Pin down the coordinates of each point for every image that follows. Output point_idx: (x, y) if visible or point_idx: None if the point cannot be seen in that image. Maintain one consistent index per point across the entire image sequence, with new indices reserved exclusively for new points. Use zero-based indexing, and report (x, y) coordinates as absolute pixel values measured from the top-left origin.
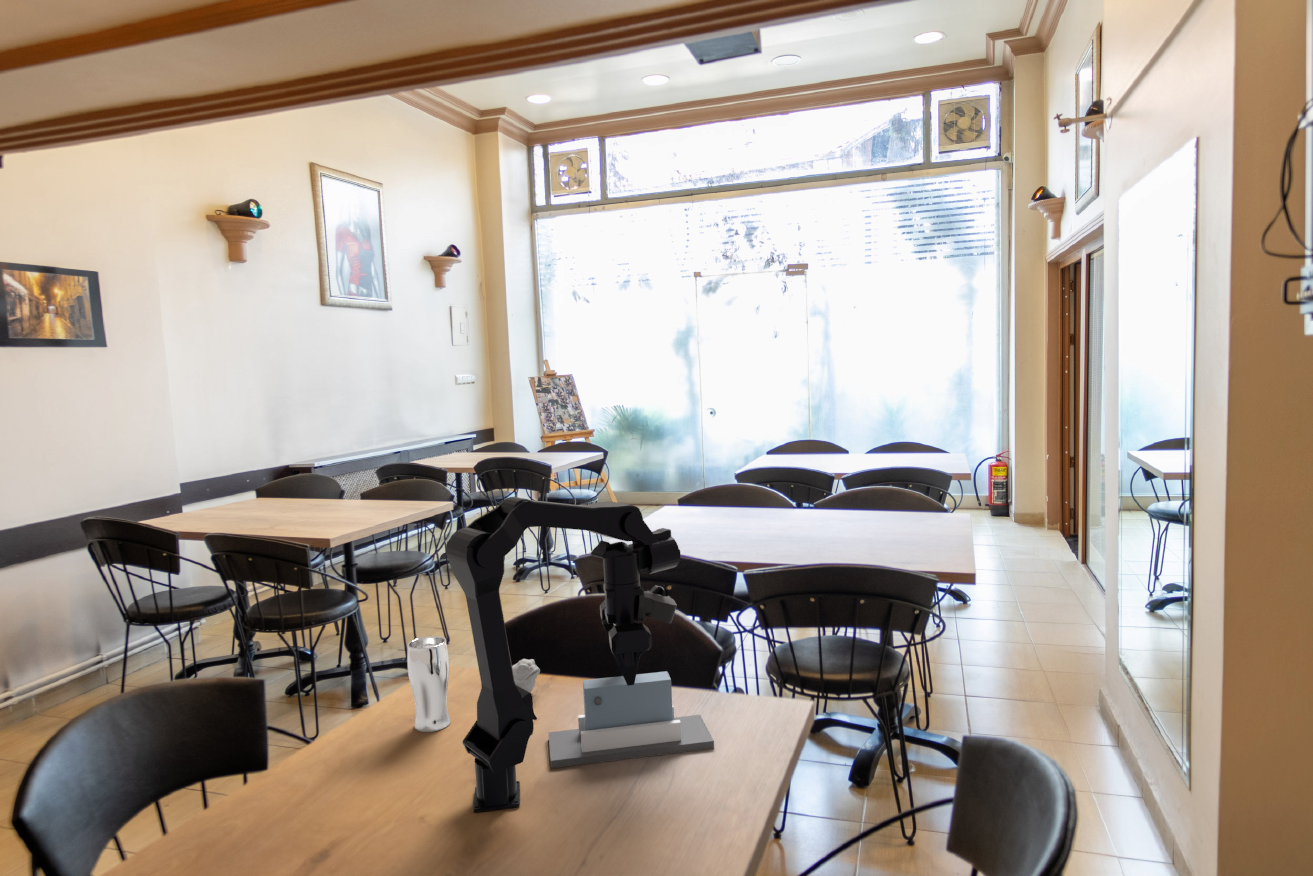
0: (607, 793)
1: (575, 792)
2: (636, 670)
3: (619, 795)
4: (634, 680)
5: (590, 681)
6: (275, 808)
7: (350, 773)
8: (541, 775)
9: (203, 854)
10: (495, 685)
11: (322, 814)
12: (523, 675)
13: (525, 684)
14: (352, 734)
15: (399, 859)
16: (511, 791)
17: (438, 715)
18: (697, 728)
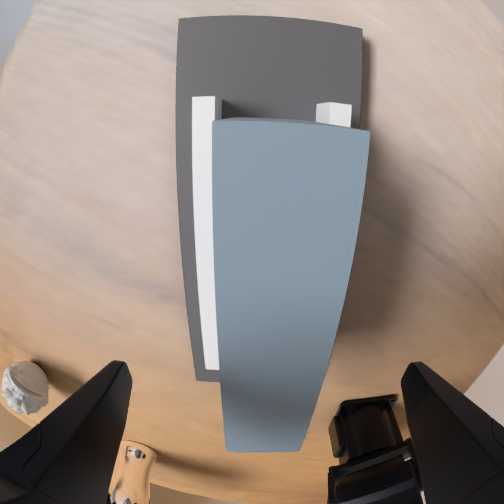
0: (433, 298)
1: (403, 340)
2: (474, 406)
3: (447, 280)
4: (435, 374)
5: (244, 442)
6: (282, 497)
7: (240, 484)
8: (328, 381)
9: (325, 500)
10: None
11: (307, 485)
12: (38, 403)
13: (39, 386)
14: (158, 480)
15: None
16: (386, 413)
17: (146, 463)
18: (272, 41)
